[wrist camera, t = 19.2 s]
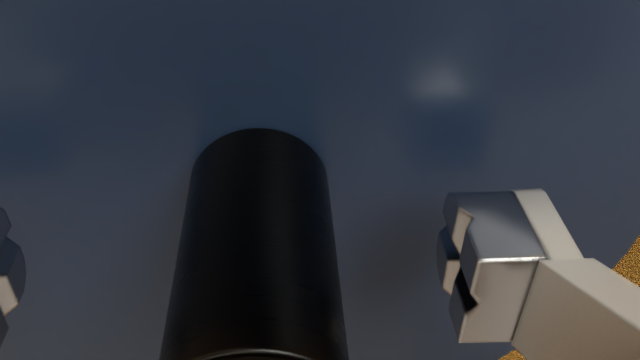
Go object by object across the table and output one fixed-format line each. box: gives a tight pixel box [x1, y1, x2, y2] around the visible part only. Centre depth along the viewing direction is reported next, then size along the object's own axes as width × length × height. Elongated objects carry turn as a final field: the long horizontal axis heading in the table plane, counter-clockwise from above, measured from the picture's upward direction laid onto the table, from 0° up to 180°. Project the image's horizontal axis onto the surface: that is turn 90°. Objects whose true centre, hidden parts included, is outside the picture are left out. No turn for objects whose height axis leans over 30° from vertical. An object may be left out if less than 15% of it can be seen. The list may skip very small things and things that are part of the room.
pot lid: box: [0, 0, 640, 360], centre depth 10 cm, size 15×15×6 cm
